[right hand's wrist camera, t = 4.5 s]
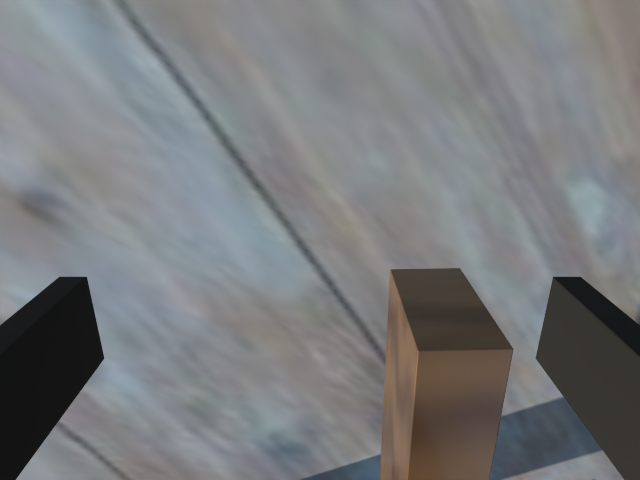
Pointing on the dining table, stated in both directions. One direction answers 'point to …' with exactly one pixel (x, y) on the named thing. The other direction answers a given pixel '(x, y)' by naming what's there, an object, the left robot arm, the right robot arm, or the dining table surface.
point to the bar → (441, 379)
